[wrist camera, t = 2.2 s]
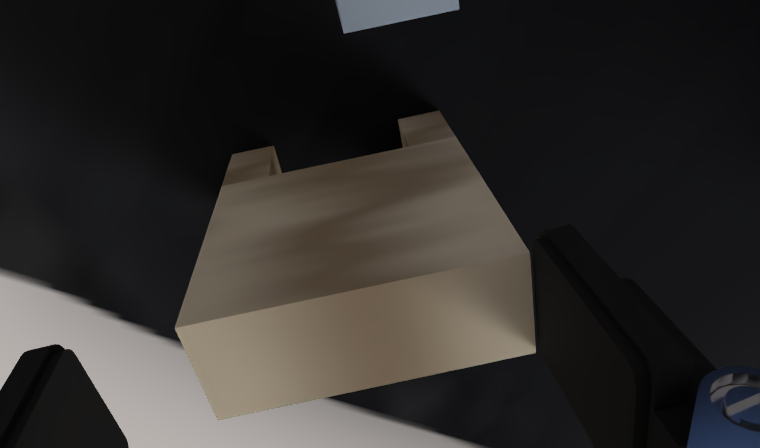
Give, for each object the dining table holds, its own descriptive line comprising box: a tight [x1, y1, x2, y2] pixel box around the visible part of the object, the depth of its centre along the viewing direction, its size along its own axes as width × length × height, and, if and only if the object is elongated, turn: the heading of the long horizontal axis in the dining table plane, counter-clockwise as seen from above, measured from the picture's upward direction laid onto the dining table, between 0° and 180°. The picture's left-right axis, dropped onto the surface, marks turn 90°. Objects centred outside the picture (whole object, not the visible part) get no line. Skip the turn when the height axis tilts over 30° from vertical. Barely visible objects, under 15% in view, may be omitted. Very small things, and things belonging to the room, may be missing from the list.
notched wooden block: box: [175, 111, 536, 420], centre depth 15 cm, size 7×3×9 cm, turn 100°
